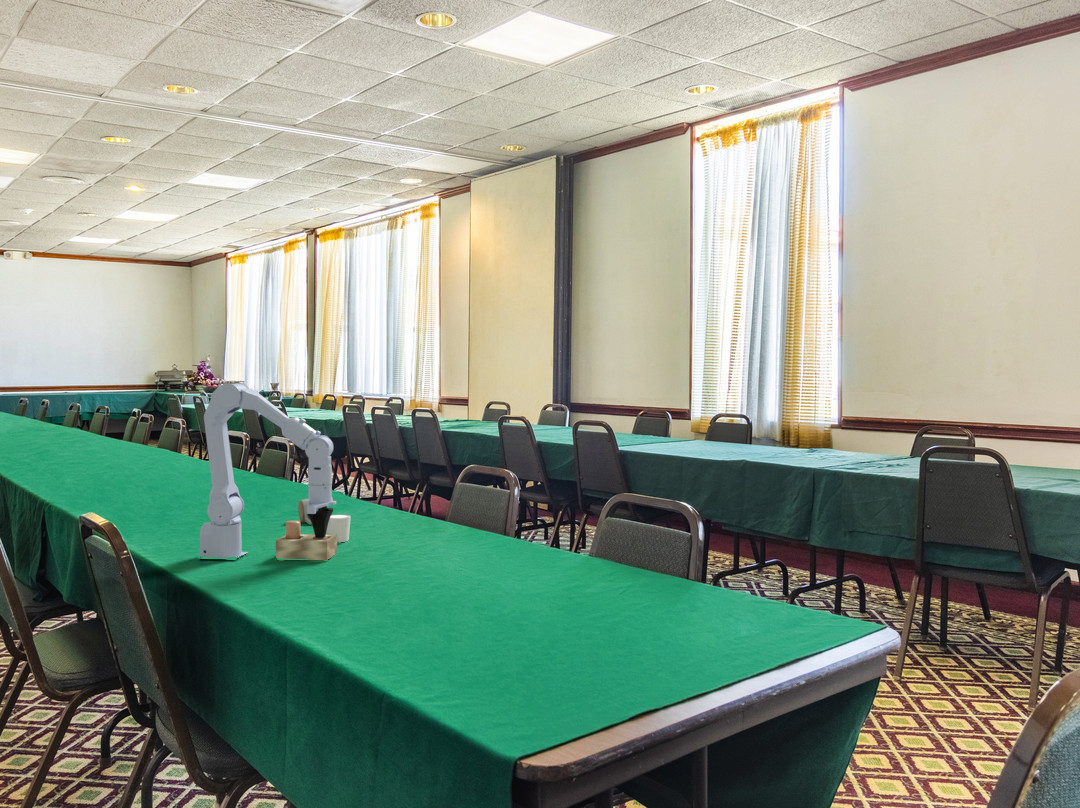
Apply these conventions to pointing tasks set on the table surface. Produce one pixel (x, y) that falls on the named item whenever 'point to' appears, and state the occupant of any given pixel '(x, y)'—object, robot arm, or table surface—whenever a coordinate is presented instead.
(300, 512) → the ceramic mug
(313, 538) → the walnut peg
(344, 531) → the white cup
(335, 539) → the maple block
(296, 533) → the terracotta peg
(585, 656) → the table surface
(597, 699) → the table surface
